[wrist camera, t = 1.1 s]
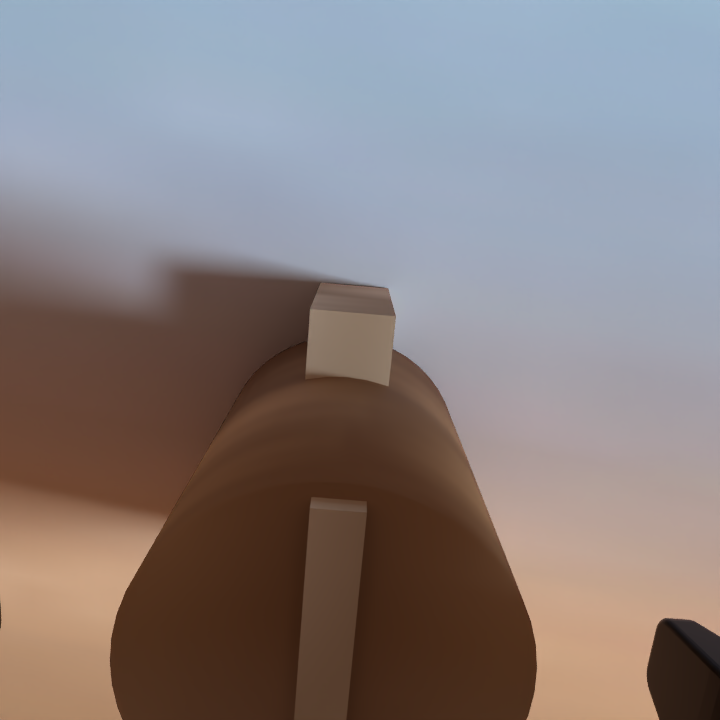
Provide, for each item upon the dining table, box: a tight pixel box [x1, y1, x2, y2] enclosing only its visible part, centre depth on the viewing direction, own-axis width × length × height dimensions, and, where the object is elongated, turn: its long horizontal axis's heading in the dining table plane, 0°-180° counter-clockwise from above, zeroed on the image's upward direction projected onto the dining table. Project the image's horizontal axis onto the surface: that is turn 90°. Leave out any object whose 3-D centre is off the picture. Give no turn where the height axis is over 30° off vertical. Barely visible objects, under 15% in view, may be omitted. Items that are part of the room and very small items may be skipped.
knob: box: [110, 283, 537, 720], centre depth 11 cm, size 5×6×7 cm
